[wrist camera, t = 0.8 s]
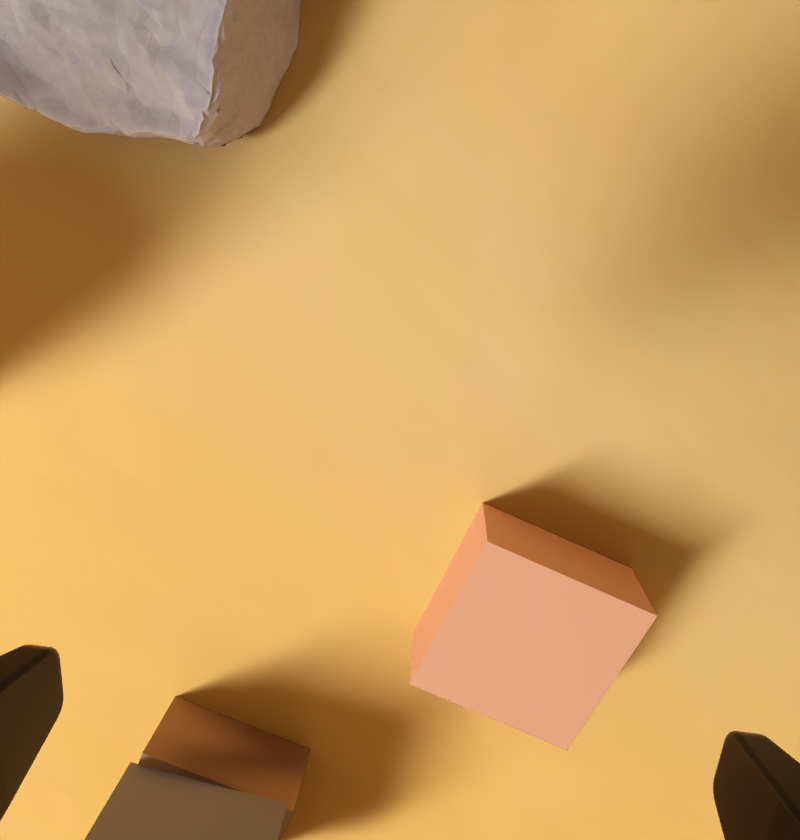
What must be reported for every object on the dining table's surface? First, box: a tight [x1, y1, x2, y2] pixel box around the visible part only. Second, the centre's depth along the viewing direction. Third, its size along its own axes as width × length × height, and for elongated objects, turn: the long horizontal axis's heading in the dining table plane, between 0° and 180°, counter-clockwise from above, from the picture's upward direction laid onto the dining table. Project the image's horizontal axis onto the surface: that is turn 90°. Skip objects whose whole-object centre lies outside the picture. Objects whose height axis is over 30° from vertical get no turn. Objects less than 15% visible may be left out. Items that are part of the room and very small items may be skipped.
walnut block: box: [139, 696, 310, 840], centre depth 24 cm, size 6×6×3 cm
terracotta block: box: [410, 503, 657, 750], centre depth 21 cm, size 6×6×3 cm
